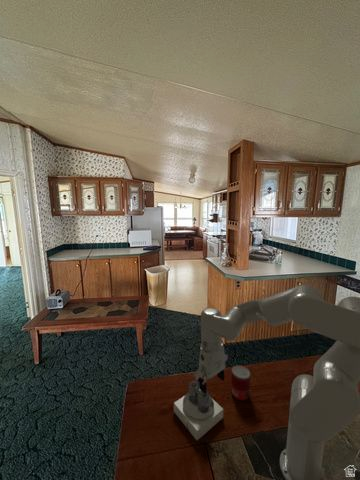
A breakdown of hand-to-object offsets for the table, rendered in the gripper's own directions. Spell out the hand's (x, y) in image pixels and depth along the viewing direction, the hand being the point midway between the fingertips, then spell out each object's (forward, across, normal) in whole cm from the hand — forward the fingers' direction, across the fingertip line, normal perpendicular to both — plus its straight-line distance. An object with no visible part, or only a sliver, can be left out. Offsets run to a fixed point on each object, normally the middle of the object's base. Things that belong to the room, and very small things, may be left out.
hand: (212, 384), depth 81 cm
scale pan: (+11, -2, +6) cm, 13 cm away
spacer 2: (+10, -2, +3) cm, 11 cm away
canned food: (+16, +20, +2) cm, 26 cm away
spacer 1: (+10, -2, +8) cm, 13 cm away
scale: (+16, -2, +6) cm, 17 cm away
